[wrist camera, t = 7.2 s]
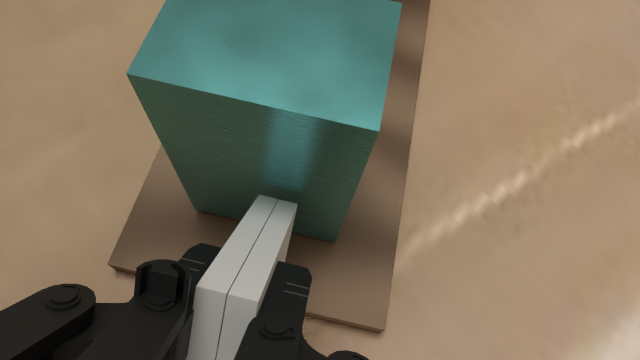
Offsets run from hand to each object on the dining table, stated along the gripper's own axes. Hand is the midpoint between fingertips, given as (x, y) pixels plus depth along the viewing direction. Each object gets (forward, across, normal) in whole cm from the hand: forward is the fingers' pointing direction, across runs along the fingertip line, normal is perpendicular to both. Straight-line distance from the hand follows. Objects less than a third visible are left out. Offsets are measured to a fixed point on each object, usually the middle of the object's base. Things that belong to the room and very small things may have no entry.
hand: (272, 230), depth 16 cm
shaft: (+11, -1, +6) cm, 12 cm away
